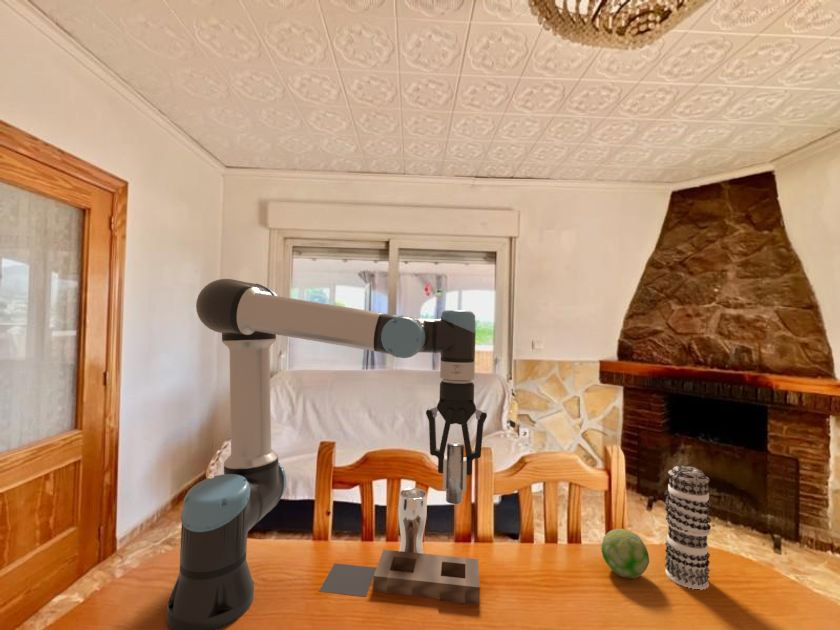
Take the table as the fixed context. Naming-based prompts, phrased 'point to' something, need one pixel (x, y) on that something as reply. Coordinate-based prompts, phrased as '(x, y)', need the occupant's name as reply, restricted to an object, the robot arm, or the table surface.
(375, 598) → the table surface
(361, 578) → the rubber mat
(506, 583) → the table surface
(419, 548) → the beer glass
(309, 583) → the table surface
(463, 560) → the socket block
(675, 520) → the decorative candle
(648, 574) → the table surface
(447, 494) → the steel peg
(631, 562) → the decorative ball
